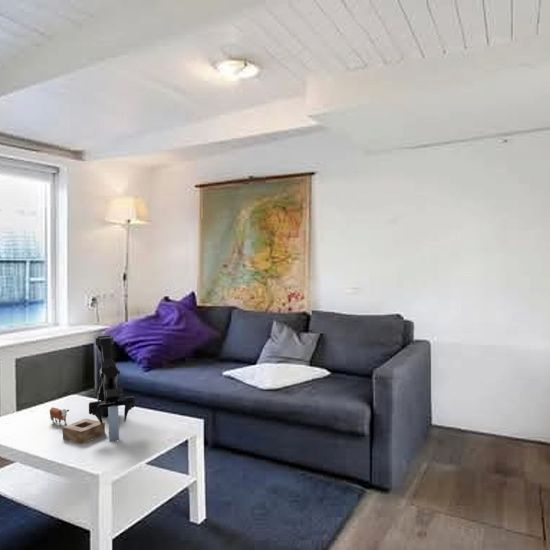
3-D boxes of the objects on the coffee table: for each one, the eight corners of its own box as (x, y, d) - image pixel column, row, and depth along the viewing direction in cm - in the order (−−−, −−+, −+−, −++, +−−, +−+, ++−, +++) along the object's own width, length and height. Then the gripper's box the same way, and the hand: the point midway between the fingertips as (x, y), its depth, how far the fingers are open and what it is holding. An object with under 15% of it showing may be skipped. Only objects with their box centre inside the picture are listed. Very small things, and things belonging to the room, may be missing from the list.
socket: (86, 429, 207) (86, 418, 206) (105, 433, 201) (104, 422, 201) (62, 438, 196) (62, 427, 196) (81, 443, 190) (81, 431, 190)
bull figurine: (62, 428, 208) (62, 411, 208) (48, 422, 216) (47, 405, 216) (71, 425, 212) (71, 408, 211) (57, 420, 220) (56, 403, 219)
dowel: (114, 437, 197) (113, 405, 196) (121, 438, 195) (120, 406, 194) (107, 440, 193) (106, 407, 193) (113, 442, 191) (112, 409, 191)
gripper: (88, 383, 194) (90, 417, 184) (133, 378, 201) (138, 410, 192) (87, 397, 201) (89, 430, 191) (132, 391, 209) (136, 422, 199)
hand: (113, 422), depth 193 cm, fingers open, 9 cm apart
